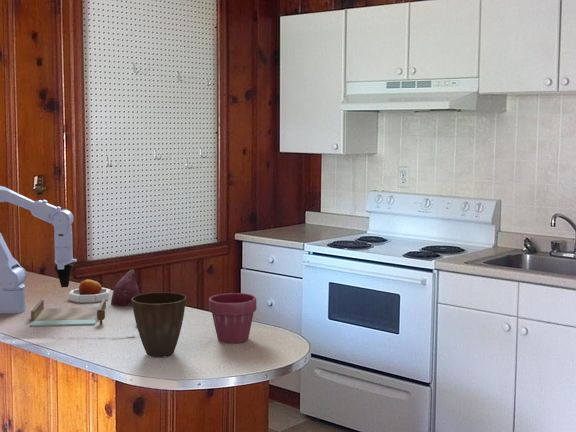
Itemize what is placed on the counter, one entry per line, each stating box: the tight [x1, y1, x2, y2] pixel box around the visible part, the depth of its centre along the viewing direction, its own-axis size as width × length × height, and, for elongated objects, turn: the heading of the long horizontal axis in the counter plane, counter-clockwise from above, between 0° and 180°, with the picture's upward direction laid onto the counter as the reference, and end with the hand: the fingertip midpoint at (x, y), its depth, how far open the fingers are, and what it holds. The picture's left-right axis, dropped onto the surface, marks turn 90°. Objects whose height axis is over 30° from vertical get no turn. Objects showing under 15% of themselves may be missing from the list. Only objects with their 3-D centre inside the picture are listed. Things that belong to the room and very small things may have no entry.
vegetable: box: [110, 268, 141, 307], centre depth 275 cm, size 10×10×15 cm
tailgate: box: [29, 319, 98, 328], centre depth 248 cm, size 20×1×7 cm
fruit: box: [78, 278, 103, 295], centre depth 287 cm, size 8×8×8 cm
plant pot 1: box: [131, 291, 187, 358], centre depth 219 cm, size 15×15×16 cm
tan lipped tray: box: [30, 299, 107, 322], centre depth 259 cm, size 22×16×4 cm
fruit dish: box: [68, 287, 111, 304], centre depth 287 cm, size 14×14×2 cm
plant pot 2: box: [208, 292, 258, 344], centre depth 233 cm, size 14×14×13 cm
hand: (64, 286), depth 262 cm, fingers closed
